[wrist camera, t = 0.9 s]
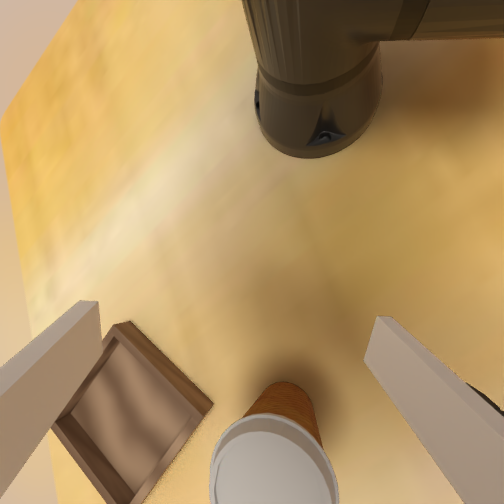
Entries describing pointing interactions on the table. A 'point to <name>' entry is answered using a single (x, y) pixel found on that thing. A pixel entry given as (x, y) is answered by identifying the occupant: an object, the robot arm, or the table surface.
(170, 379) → the walnut tray
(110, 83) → the table surface
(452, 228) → the table surface
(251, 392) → the table surface
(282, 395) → the disposable coffee cup
